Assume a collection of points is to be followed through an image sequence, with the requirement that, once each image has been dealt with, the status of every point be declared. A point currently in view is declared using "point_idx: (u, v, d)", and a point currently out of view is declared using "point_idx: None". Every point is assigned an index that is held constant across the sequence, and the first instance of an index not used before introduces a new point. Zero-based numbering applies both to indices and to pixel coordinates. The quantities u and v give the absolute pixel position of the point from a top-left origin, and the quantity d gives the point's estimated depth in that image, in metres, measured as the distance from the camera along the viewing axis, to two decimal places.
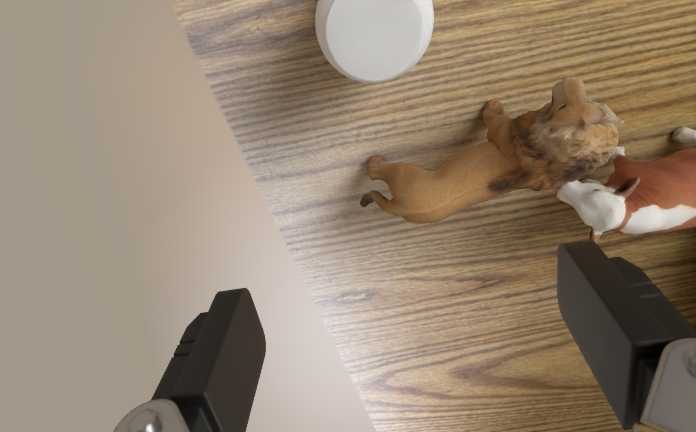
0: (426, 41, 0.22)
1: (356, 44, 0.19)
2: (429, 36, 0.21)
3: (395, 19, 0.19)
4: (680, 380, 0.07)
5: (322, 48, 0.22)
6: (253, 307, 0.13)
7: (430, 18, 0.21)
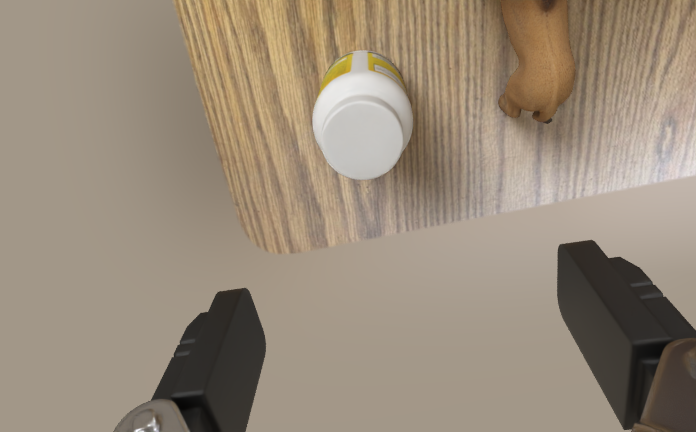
0: (381, 82, 0.24)
1: (370, 157, 0.23)
2: (377, 79, 0.24)
3: (354, 124, 0.23)
4: (680, 380, 0.07)
5: None
6: (253, 307, 0.13)
7: (363, 78, 0.24)
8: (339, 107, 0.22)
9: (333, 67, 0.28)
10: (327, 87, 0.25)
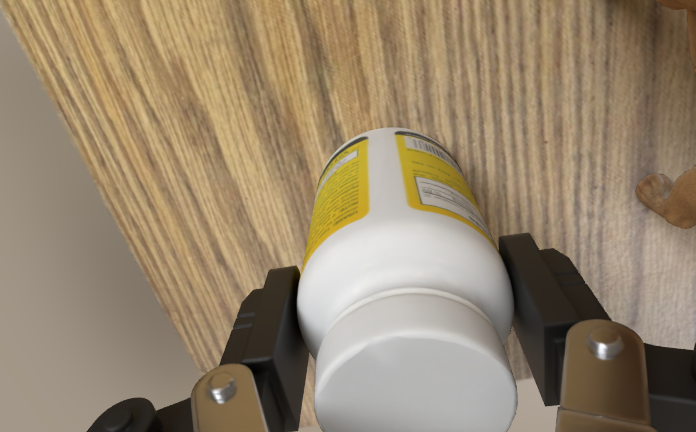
0: (443, 243, 0.10)
1: None
2: (434, 235, 0.10)
3: (393, 379, 0.09)
4: (585, 361, 0.08)
5: None
6: None
7: (400, 238, 0.10)
8: (352, 344, 0.09)
9: (333, 174, 0.15)
10: (321, 255, 0.11)
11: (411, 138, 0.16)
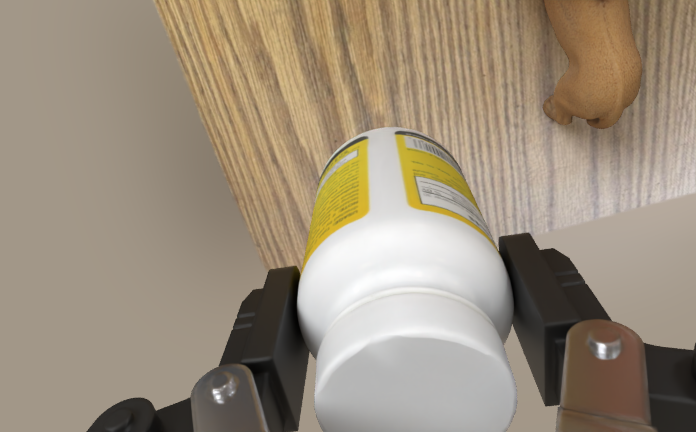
0: (443, 243, 0.10)
1: None
2: (434, 235, 0.10)
3: (393, 378, 0.09)
4: (585, 361, 0.08)
5: None
6: None
7: (400, 238, 0.10)
8: (352, 343, 0.09)
9: (333, 174, 0.15)
10: (321, 254, 0.11)
11: (411, 138, 0.16)
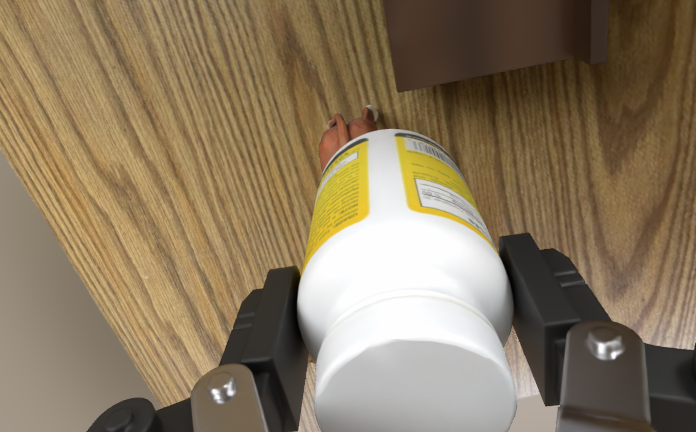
0: (443, 245, 0.10)
1: None
2: (434, 238, 0.10)
3: (393, 381, 0.09)
4: (586, 361, 0.08)
5: None
6: None
7: (400, 241, 0.10)
8: (351, 346, 0.09)
9: (333, 175, 0.15)
10: (321, 257, 0.11)
11: (411, 140, 0.16)
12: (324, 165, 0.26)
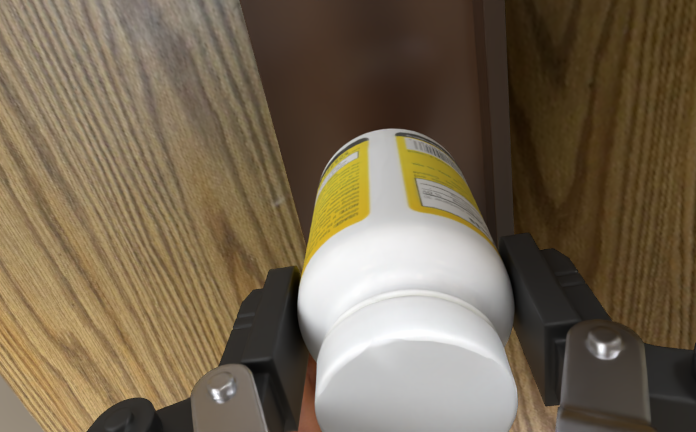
0: (444, 245, 0.10)
1: None
2: (435, 237, 0.10)
3: (394, 381, 0.09)
4: (585, 361, 0.08)
5: None
6: None
7: (401, 241, 0.10)
8: (352, 346, 0.09)
9: (334, 175, 0.15)
10: (322, 257, 0.11)
11: (411, 139, 0.16)
12: None
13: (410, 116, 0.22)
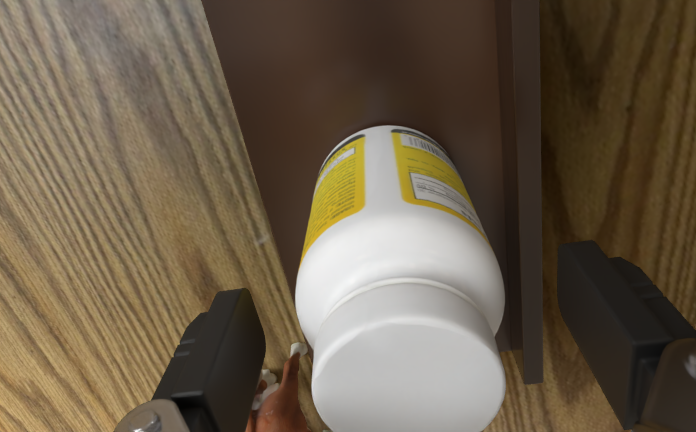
0: (436, 235, 0.11)
1: (428, 418, 0.10)
2: (427, 228, 0.11)
3: (387, 364, 0.09)
4: (680, 380, 0.07)
5: None
6: (253, 307, 0.13)
7: (394, 231, 0.11)
8: (347, 330, 0.09)
9: (331, 170, 0.15)
10: (318, 247, 0.12)
11: (407, 136, 0.16)
12: None
13: None
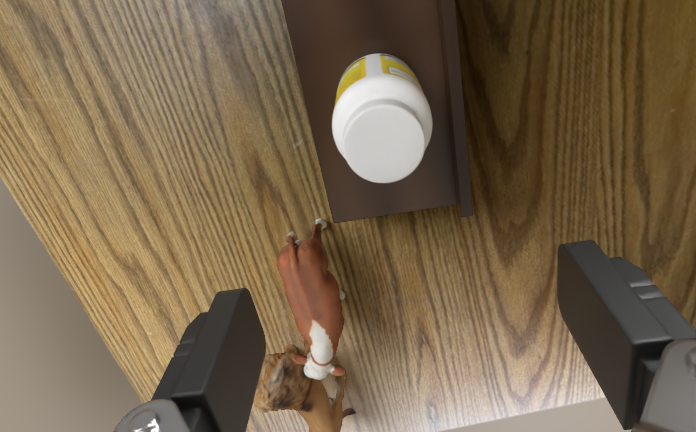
0: (397, 84, 0.24)
1: (393, 159, 0.23)
2: (393, 81, 0.24)
3: (375, 129, 0.23)
4: (680, 380, 0.07)
5: None
6: (253, 307, 0.13)
7: (379, 82, 0.24)
8: (358, 113, 0.23)
9: (347, 73, 0.29)
10: (344, 94, 0.25)
11: (388, 56, 0.29)
12: (280, 273, 0.37)
13: None
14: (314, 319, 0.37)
